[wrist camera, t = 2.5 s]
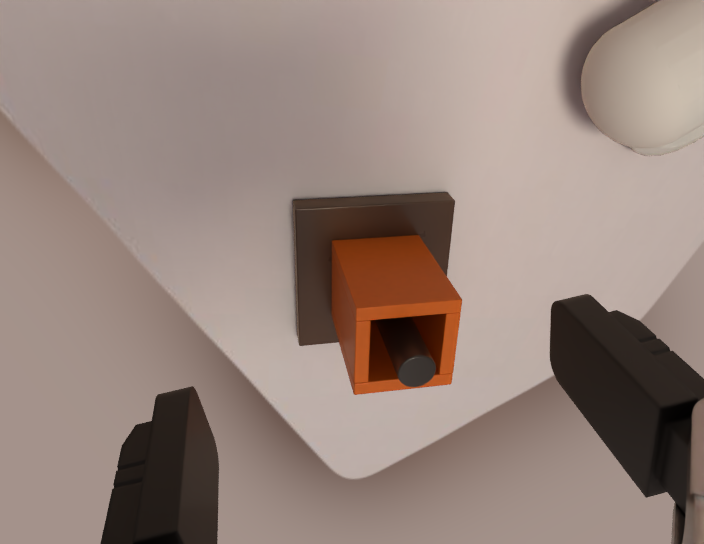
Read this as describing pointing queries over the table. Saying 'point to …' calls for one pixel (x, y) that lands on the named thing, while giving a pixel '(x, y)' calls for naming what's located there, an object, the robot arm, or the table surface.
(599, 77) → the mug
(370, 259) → the orange square tube
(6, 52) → the table surface
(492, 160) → the table surface
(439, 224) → the stake
